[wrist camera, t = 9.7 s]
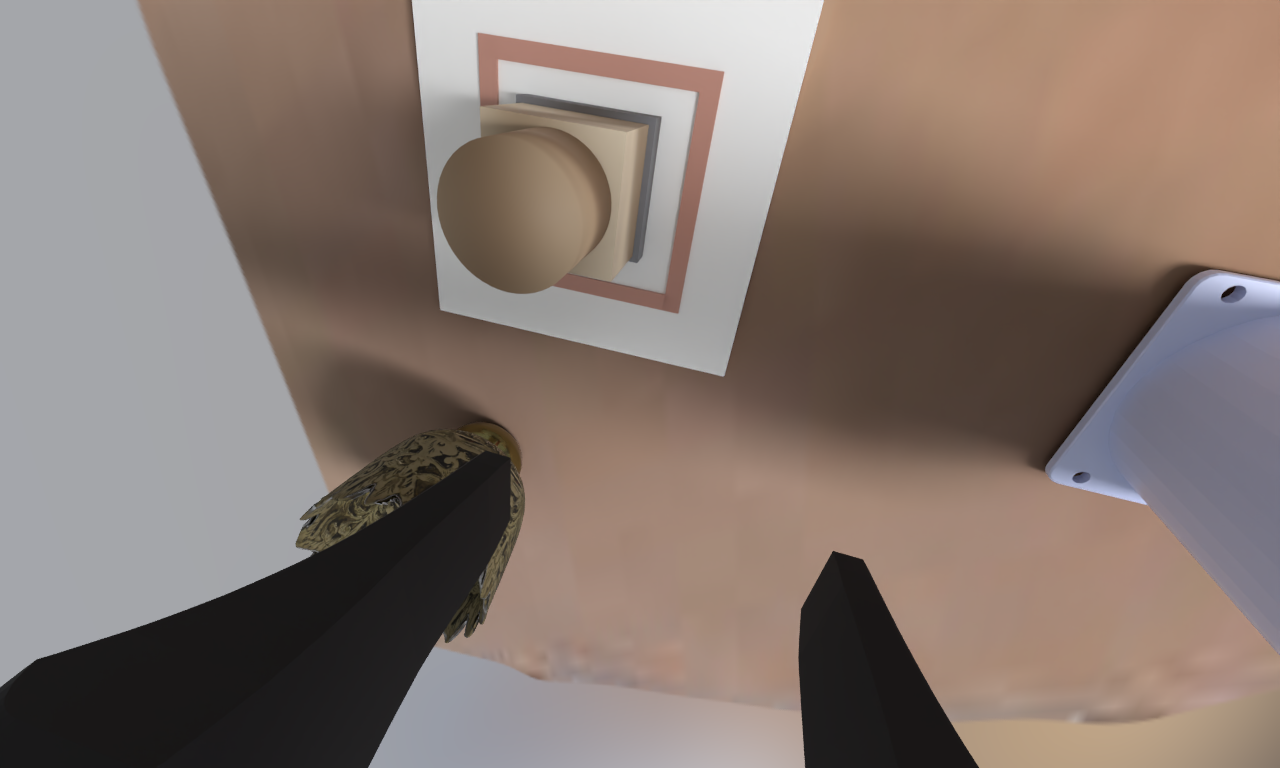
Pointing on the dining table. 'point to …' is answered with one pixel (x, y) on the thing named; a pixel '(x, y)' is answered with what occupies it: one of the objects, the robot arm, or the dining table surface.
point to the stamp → (549, 192)
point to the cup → (408, 477)
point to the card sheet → (685, 162)
